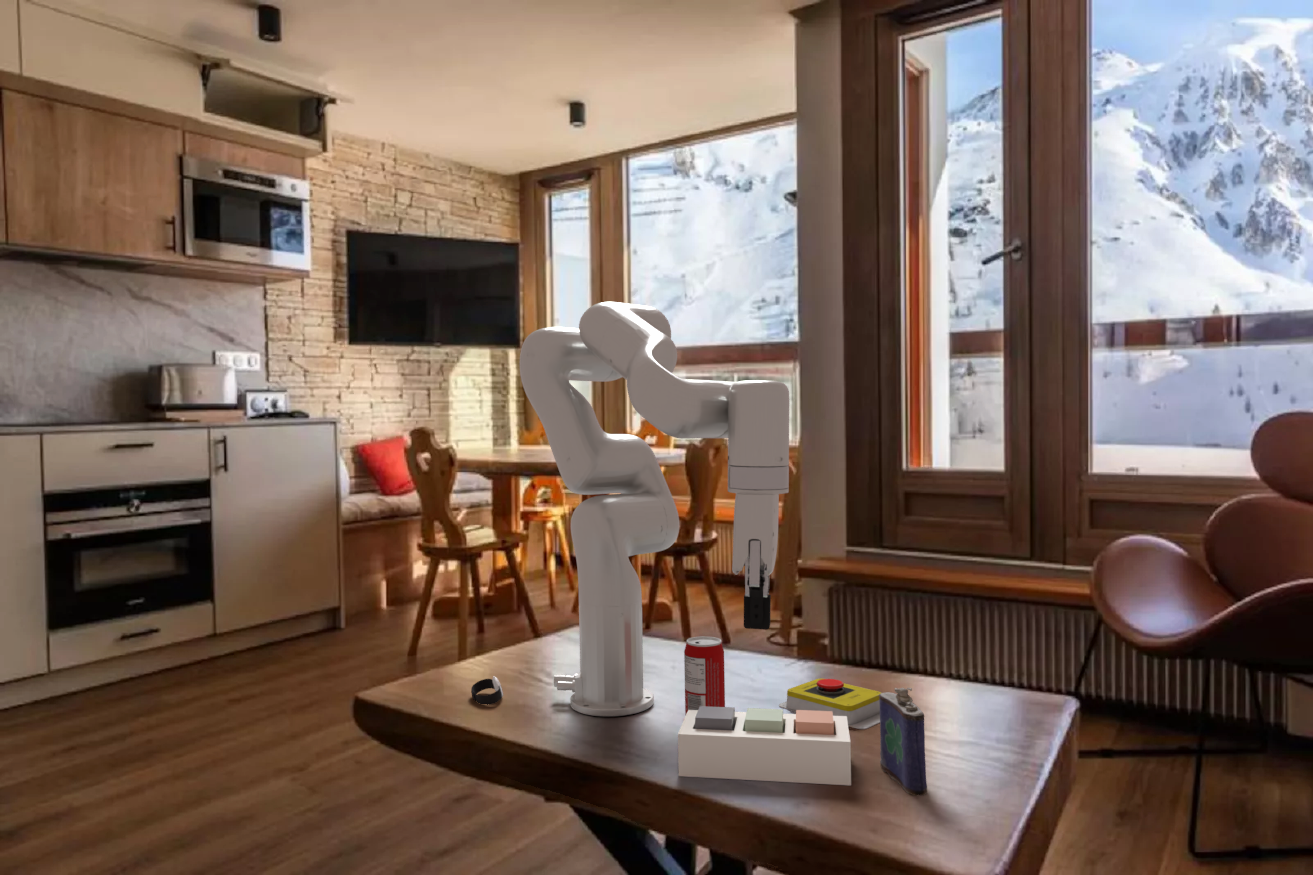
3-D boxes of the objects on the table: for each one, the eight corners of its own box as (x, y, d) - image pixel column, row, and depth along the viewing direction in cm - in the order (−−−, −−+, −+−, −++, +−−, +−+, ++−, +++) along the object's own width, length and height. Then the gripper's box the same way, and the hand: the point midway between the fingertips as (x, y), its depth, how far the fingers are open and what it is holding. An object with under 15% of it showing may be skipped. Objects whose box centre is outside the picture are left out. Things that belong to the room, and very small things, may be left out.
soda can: (727, 718, 121) (726, 634, 121) (722, 732, 115) (720, 644, 115) (689, 716, 122) (687, 633, 122) (682, 729, 117) (680, 642, 116)
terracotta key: (796, 755, 100) (795, 721, 100) (796, 742, 105) (796, 709, 105) (834, 757, 100) (833, 723, 100) (832, 743, 104) (832, 711, 104)
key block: (678, 776, 101) (677, 734, 101) (688, 748, 109) (688, 709, 109) (851, 785, 97) (850, 741, 97) (847, 756, 106) (846, 716, 106)
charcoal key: (695, 750, 103) (695, 717, 103) (700, 737, 107) (699, 706, 107) (732, 752, 102) (731, 719, 102) (735, 739, 106) (734, 707, 106)
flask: (876, 765, 103) (875, 677, 103) (899, 763, 103) (898, 675, 103) (909, 797, 94) (908, 700, 94) (934, 795, 94) (933, 699, 94)
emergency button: (812, 667, 132) (898, 687, 122) (813, 695, 132) (899, 717, 122) (775, 680, 126) (862, 702, 115) (776, 709, 126) (863, 734, 115)
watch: (509, 704, 129) (508, 681, 129) (478, 709, 127) (478, 685, 127) (495, 691, 136) (494, 669, 136) (466, 696, 134) (465, 673, 134)
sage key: (745, 753, 101) (744, 719, 101) (747, 740, 106) (747, 707, 106) (782, 754, 101) (782, 721, 101) (783, 741, 105) (783, 709, 105)
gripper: (733, 475, 113) (732, 612, 114) (721, 484, 98) (720, 641, 99) (790, 476, 112) (789, 615, 112) (786, 485, 97) (785, 645, 97)
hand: (757, 627), depth 105 cm, fingers closed
